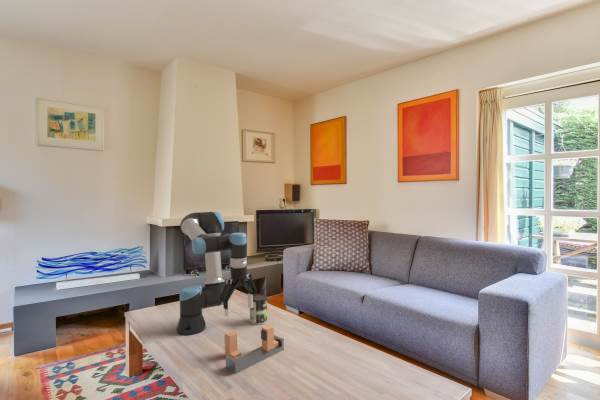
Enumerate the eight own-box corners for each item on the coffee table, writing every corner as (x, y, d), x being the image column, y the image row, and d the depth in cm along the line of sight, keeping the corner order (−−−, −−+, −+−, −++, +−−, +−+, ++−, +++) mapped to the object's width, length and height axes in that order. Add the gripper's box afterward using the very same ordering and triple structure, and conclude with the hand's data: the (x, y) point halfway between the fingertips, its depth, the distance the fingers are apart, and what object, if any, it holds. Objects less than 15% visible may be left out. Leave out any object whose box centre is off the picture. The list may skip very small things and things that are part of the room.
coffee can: (269, 318, 198) (269, 295, 197) (264, 325, 188) (264, 300, 187) (253, 317, 200) (252, 294, 199) (247, 324, 190) (246, 299, 189)
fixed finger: (260, 349, 156) (260, 328, 156) (272, 343, 162) (272, 323, 161) (266, 351, 153) (265, 330, 153) (278, 345, 159) (278, 325, 158)
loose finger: (234, 360, 150) (233, 338, 149) (224, 354, 155) (223, 333, 155) (241, 356, 153) (240, 335, 152) (231, 351, 158) (230, 330, 158)
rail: (226, 367, 144) (225, 356, 143) (273, 344, 164) (273, 334, 164) (235, 373, 139) (235, 361, 139) (283, 349, 159) (283, 339, 159)
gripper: (221, 272, 143) (221, 321, 143) (263, 262, 161) (264, 305, 162) (211, 270, 147) (211, 317, 148) (253, 260, 166) (254, 302, 167)
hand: (239, 311), depth 155 cm, fingers open, 13 cm apart
